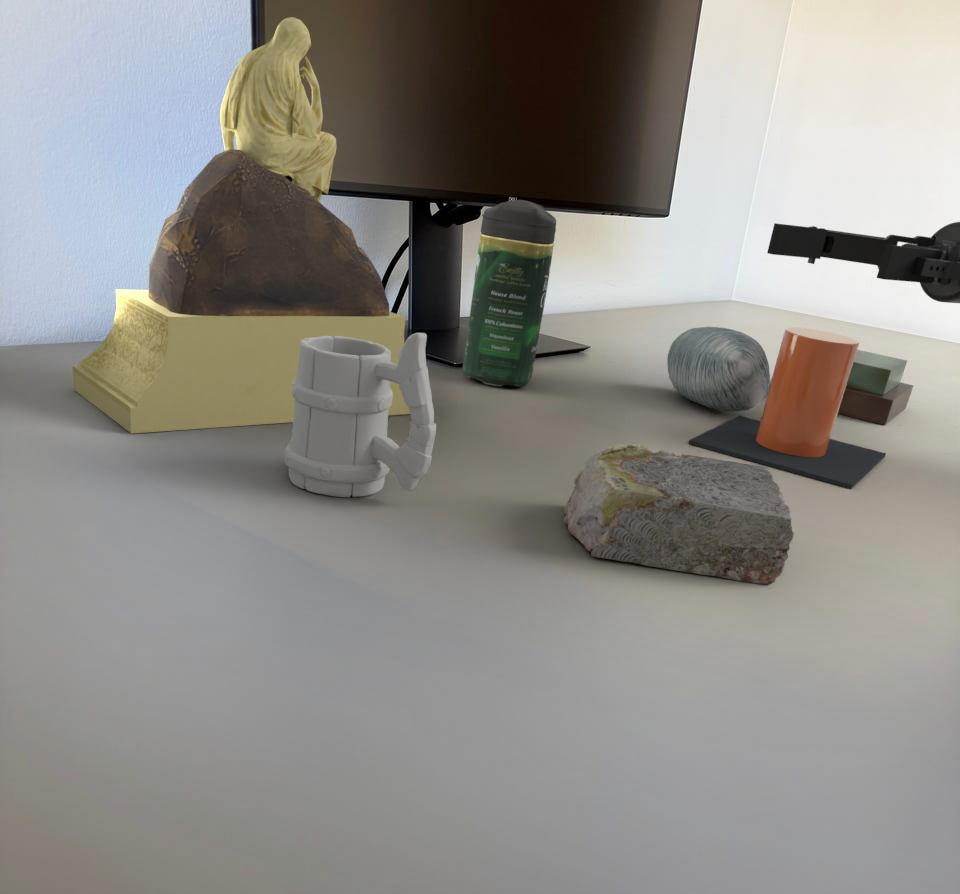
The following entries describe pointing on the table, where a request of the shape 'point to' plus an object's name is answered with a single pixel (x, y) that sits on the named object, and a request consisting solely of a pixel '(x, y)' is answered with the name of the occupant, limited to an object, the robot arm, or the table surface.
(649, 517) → the geological specimen
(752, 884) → the table surface
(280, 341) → the hooded thinker statue
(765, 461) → the mat
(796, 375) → the canister
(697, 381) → the grey streaked ovoid
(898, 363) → the stack
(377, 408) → the mug
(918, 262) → the robot arm
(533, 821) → the table surface
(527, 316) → the coffee jar
